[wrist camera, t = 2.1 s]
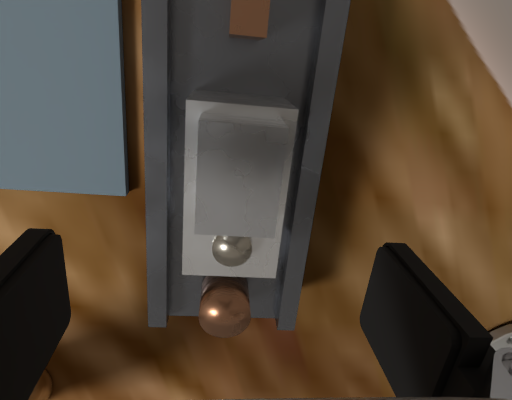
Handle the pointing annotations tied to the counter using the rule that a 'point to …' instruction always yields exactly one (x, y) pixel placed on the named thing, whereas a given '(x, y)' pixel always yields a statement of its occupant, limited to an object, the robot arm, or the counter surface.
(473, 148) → the counter surface
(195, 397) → the counter surface
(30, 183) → the mat
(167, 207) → the body
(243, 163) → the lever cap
